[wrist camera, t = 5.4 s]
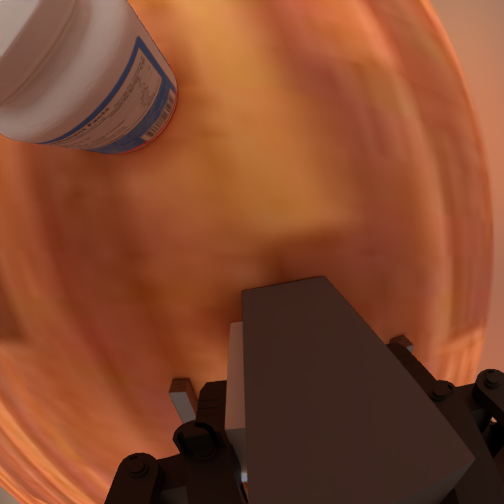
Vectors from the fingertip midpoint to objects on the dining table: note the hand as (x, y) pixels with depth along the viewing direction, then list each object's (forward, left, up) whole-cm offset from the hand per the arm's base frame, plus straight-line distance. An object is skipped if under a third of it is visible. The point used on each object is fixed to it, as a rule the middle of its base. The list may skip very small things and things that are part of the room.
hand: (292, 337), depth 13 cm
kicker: (+3, 0, -1) cm, 3 cm away
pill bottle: (-12, -6, -1) cm, 14 cm away
